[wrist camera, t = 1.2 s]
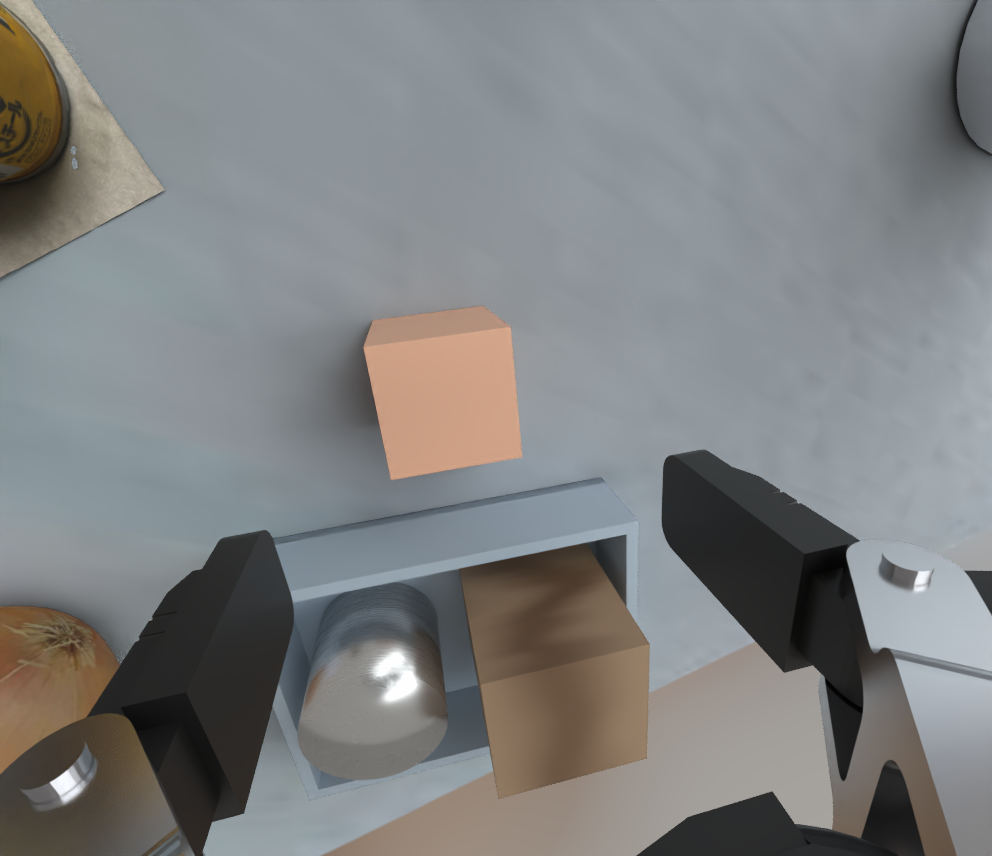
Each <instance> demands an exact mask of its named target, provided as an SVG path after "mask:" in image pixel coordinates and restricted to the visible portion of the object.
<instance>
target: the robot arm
mask: <svg viewBox="0 0 992 856" xmlns="http://www.w3.org/2000/svg"><path fill="white" fill-rule="evenodd" d="M957 101H958V106H959V110H960V115H961V119H962V121H963V124H964V126H965V128H966V130H967V132H968V134H969V136H970V137H971V138H972V139H973V140H974V141H975V143H976V144H977V145H978V146H979V147H980V148H982V149H984V150H986V151H987V152H989V153H991V154H992V0H978V1H977V4H976V6H975V8H974V11H973V13H972V15H971V18H970V20H969V22H968V25H967V28H966V32H965V35H964V39H963V42H962V46H961V49H960V56H959V63H958V70H957ZM662 527H663V532H664V535H665V538H666V540H667V542H668V544H669V546H670V547H671V548H672V550H673V551H674V552H675V553H676V554H677V555H678V556H679V557H680V559H681V560H682V561H683V562H684V563H685V564H686V565H687V566H688V567H689V568H690V570H691V571H692V572H693V573H694V574H695V575H696V576H697V577H698V578H699V579H700V581H701V582H702V583H703V584H704V585H705V586H706V587H707V588H708V589H709V590H710V592H711V593H712V594H713V595H714V596H715V597H716V598H717V599H718V600H719V601H720V603H721V604H722V605H723V606H724V607H725V608H726V609H727V610H728V611H729V613H730V614H731V615H732V616H733V617H734V618H735V619H736V620H737V621H738V622H739V624H740V625H741V626H742V627H743V628H744V629H745V630H746V631H747V632H748V633H749V635H750V636H751V637H752V638H753V639H754V640H755V641H756V642H757V643H758V644H759V645H760V647H761V648H762V649H763V650H764V651H765V652H766V653H767V654H768V655H769V656H770V657H771V659H772V660H773V661H774V662H775V663H776V664H777V665H778V666H779V668H781V670H782V671H783V672H789V671H792V670H796V669H800V668H804V667H808V666H811V665H813V666H814V667H815V668H816V669H817V670H818V671H819V672H820V673H821V677H820V681H819V686H818V687H819V698H820V706H821V714H822V721H823V729H824V735H825V742H826V750H827V758H828V765H829V773H830V780H831V788H832V795H833V796H832V797H833V828H832V830H831V829H825V828H819V827H812V826H807V825H800V824H794V822H793V821H792V819H791V818H790V816H789V815H788V813H787V812H786V811H785V809H784V808H783V806H782V805H781V803H780V802H779V800H778V799H777V797H776V796H775V795H774V793H773V792H769V793H766V794H762V795H759V796H756V797H753V798H750V799H746V800H743V801H739V802H737V803H733V804H730V805H726V806H723V807H720V808H717V809H713V810H710V811H707V812H703V813H700V814H697V815H693V816H690V817H688V818H686V819H685V820H684V821H682V822H681V823H680V824H678V825H677V826H676V827H674V828H673V829H672V830H670V831H669V832H668V833H666V834H665V835H664V836H662V837H661V838H660V839H658V840H657V841H656V842H654V843H653V844H651V845H650V846H649V847H647V848H646V849H645V850H643V851H642V852H641V853H640V854H638V855H637V856H992V571H963V570H962V569H961V568H960V567H959V566H958V565H956V564H955V563H954V562H952V561H950V560H949V559H947V558H945V557H944V556H942V555H939V554H937V553H935V552H933V551H931V550H928V549H926V548H923V547H920V546H917V545H913V544H909V543H905V542H900V541H895V540H886V539H869V540H863V541H859V540H858V539H856V538H855V537H853V536H852V535H850V534H849V533H847V532H845V531H844V530H842V529H841V528H839V527H838V526H836V525H834V524H833V523H831V522H830V521H828V520H827V519H825V518H823V517H822V516H820V515H819V514H817V513H816V512H814V511H812V510H811V509H809V508H808V507H806V506H805V505H803V504H801V503H800V504H798V503H797V500H795V499H794V498H792V497H791V496H789V495H787V494H786V493H784V492H782V493H781V492H780V489H778V488H776V487H775V486H773V485H772V484H770V483H769V482H767V481H765V480H764V479H762V478H761V477H759V476H756V475H753V474H751V473H748V472H745V471H742V470H739V469H736V468H734V467H731V466H730V465H728V464H727V463H725V462H724V461H722V460H721V459H719V458H718V457H716V456H715V455H713V454H712V453H710V452H708V451H707V450H697V451H692V452H686V453H681V454H676V455H670V456H668V457H667V458H666V460H665V462H664V467H663V493H662ZM152 618H153V619H152V621H149V622H148V624H147V625H146V627H145V628H144V630H143V631H142V633H141V634H140V636H139V641H137V642H135V643H134V645H133V646H132V648H131V650H130V651H129V653H128V654H127V656H126V657H125V659H124V660H123V662H122V663H121V665H120V666H119V668H118V669H117V671H116V673H115V674H114V676H113V677H112V679H111V680H110V682H109V683H108V685H107V686H106V688H105V689H104V691H103V692H102V694H101V695H100V697H99V699H98V700H97V702H96V703H95V705H94V706H93V708H92V709H91V711H90V712H89V714H88V715H87V717H86V718H84V719H81V720H78V721H76V722H73V723H71V724H69V725H67V726H65V727H63V728H61V729H59V730H57V731H55V732H54V733H52V734H50V735H48V736H47V737H45V738H44V739H42V740H41V741H39V742H38V743H36V744H35V745H33V746H32V747H31V748H29V749H28V750H27V751H25V752H24V753H23V754H22V755H21V756H19V757H18V758H17V759H16V760H15V761H14V762H12V763H11V764H10V765H9V766H8V767H7V768H6V769H5V770H4V771H3V772H2V773H1V774H0V856H205V854H204V852H203V848H204V845H205V842H206V839H207V836H208V833H209V829H210V826H211V823H212V822H214V821H218V820H221V819H225V818H229V817H233V816H237V815H240V814H244V811H245V808H246V804H247V800H248V796H249V793H250V789H251V785H252V781H253V777H254V774H255V770H256V766H257V762H258V759H259V755H260V751H261V747H262V744H263V740H264V736H265V732H266V728H267V725H268V721H269V717H270V713H271V710H272V706H273V702H274V698H275V695H276V691H277V687H278V683H279V680H280V676H281V672H282V668H283V664H284V661H285V657H286V653H287V649H288V646H289V642H290V638H291V634H292V630H293V625H294V607H293V600H292V596H291V593H290V590H289V587H288V583H287V580H286V577H285V574H284V571H283V568H282V565H281V562H280V559H279V556H278V553H277V550H276V547H275V544H274V541H273V538H272V536H271V535H270V533H269V532H268V531H266V530H262V531H257V532H252V533H246V534H241V535H236V536H230V537H225V538H222V539H221V540H220V541H219V542H218V543H217V545H216V547H215V549H214V550H213V552H212V554H211V555H210V557H209V559H208V560H207V562H206V564H205V565H204V567H203V569H201V570H195V571H192V572H191V573H190V574H189V575H188V576H186V577H185V578H184V579H183V580H182V581H181V582H179V583H178V584H177V585H176V586H175V587H174V588H173V589H171V590H170V591H169V592H168V593H167V594H166V596H165V597H164V599H163V601H162V602H161V604H160V605H159V607H158V608H157V610H156V611H155V613H154V614H153V616H152Z"/></svg>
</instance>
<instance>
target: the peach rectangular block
mask: <svg viewBox="0 0 992 856" xmlns="http://www.w3.org/2000/svg"><path fill="white" fill-rule="evenodd" d="M363 348H364V352H365V357H366V362H367V367H368V372H369V376H370V381H371V386H372V391H373V396H374V400H375V405H376V410H377V415H378V420H379V424H380V429H381V434H382V439H383V444H384V448H385V453H386V458H387V463H388V468H389V472H390V477H391V480H395V479H401V478H407V477H412V476H418V475H424V474H429V473H435V472H441V471H447V470H452V469H458V468H464V467H469V466H475V465H481V464H486V463H492V462H498V461H504V460H509V459H515V458H521V457H522V448H521V437H520V426H519V415H518V403H517V392H516V381H515V370H514V359H513V348H512V337H511V327H510V326H509V325H507V324H506V323H505V322H504V321H502V320H501V319H500V318H498V317H497V316H496V315H494V314H493V313H492V312H490V311H489V310H488V309H486V308H485V307H484V306H479V307H471V308H463V309H456V310H448V311H440V312H433V313H425V314H417V315H410V316H402V317H394V318H387V319H379V320H373V321H372V324H371V327H370V329H369V332H368V335H367V338H366V341H365V344H364V347H363Z"/></svg>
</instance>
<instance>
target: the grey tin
mask: <svg viewBox="0 0 992 856" xmlns="http://www.w3.org/2000/svg"><path fill="white" fill-rule="evenodd" d="M447 725H448V713H447V703H446V694H445V684H444V675H443V665H442V655H441V646H440V636H439V627H438V617H437V613H436V610H435V608H434V606H433V604H432V603H431V601H430V600H429V599H428V598H427V597H426V595H424V594H423V593H422V592H421V591H419V590H417V589H416V588H414V587H411V586H409V585H407V584H403V583H399V582H391V583H386V584H382V585H377V586H372V587H367V588H362V589H357V590H352V591H347V592H343V593H342V594H340V595H339V596H338V597H336V598H335V599H334V600H333V601H332V602H331V603H330V604H329V605H328V607H327V608H326V610H325V611H324V613H323V615H322V618H321V621H320V624H319V629H318V634H317V639H316V644H315V649H314V653H313V658H312V663H311V668H310V673H309V677H308V682H307V687H306V692H305V697H304V702H303V706H302V711H301V716H300V721H299V726H298V733H297V736H298V743H299V747H300V749H301V751H302V753H303V755H304V756H305V758H306V759H307V760H308V761H309V762H310V763H311V764H312V765H313V766H315V767H316V768H317V769H319V770H321V771H323V772H325V773H327V774H329V775H332V776H335V777H339V778H343V779H350V780H372V779H380V778H385V777H389V776H392V775H396V774H399V773H401V772H404V771H406V770H408V769H410V768H412V767H414V766H415V765H417V764H419V763H420V762H422V761H423V760H424V759H426V758H427V757H428V756H429V755H430V754H431V753H432V752H433V751H434V750H435V749H436V748H437V747H438V745H439V744H440V742H441V741H442V739H443V737H444V735H445V732H446V729H447Z"/></svg>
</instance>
